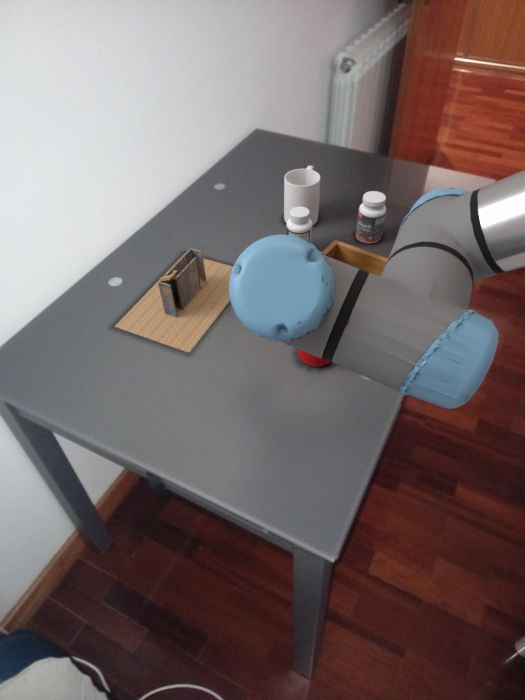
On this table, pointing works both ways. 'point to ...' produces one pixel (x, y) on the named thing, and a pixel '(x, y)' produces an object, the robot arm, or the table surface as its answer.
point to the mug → (302, 192)
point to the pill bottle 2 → (371, 217)
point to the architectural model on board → (181, 302)
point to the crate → (356, 257)
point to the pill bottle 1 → (300, 224)
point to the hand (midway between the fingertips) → (315, 313)
